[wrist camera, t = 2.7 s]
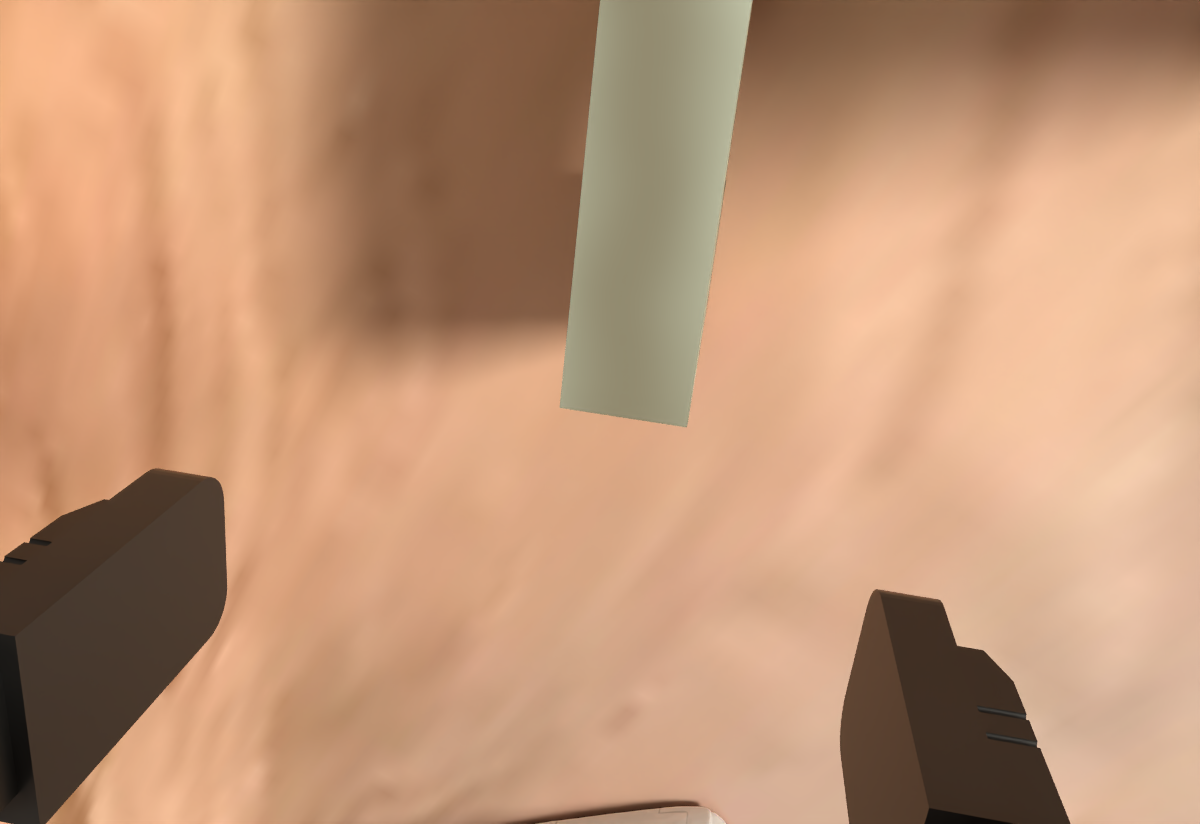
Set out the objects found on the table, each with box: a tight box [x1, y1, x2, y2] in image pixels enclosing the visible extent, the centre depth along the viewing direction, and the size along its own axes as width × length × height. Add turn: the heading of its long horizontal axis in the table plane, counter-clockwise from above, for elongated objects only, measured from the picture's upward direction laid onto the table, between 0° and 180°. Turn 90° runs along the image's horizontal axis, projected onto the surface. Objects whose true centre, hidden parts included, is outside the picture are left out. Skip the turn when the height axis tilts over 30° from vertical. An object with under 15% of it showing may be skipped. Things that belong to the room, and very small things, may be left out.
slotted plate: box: [560, 0, 753, 427], centre depth 25 cm, size 3×14×10 cm, turn 174°
